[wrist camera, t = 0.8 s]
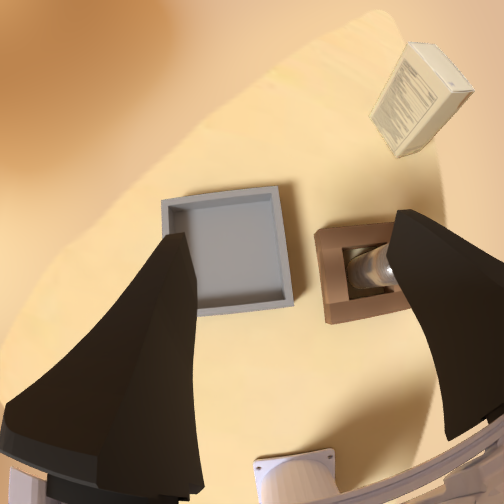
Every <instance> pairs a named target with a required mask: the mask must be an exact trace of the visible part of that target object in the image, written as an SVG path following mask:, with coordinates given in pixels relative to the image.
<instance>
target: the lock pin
mask: <svg viewBox="0 0 504 504" xmlns="http://www.w3.org/2000/svg"><path fill="white" fill-rule="evenodd" d="M388 246H389V243H388V244H385V245H383V246H381V247H379V248H376V249H374V250H372V251H369V252H367V253H365V254H362V255H360V256H357V257H355V258H353V259H352V260H351V261H350V262H349V263H348V265H347V268H346V276H347V279H348V281H349V283H350V284H351V285H352V286H353V287H355V288H358V289H364V288H373V287H382V286H390V285H398V283H397V281H396V279H395V277H394V274H393V272H392V270H391V267H390V265H389V262H388V260H387V257H386V253H387V250H388Z"/></svg>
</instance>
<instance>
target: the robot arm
mask: <svg viewBox="0 0 504 504" xmlns="http://www.w3.org/2000/svg"><path fill="white" fill-rule="evenodd" d="M386 257H387V260H388V262H389V265H390V267H391V270H392V272H393V274H394V277H395V279H396V281H397V283H398V285H399V286H400V288H401V290H402V292H403V294H404V295H405V297H406V299H407V301H408V303H409V304H410V306H411V308H412V310H413V312H414V314H415V316H416V318H417V319H418V321H419V323H420V325H421V327H422V330H423V332H424V334H425V336H426V339H427V342H428V345H429V348H430V351H431V354H432V357H433V360H434V364H435V368H436V371H437V375H438V379H439V385H440V390H441V395H442V401H443V411H444V423H445V434H446V437H447V440H448V441H451V440H452V439H454V438H456V437H458V436H459V435H461V434H463V433H464V432H466V431H468V430H469V429H471V428H473V427H474V426H476V425H477V424H479V423H480V422H482V421H484V420H485V419H487V421H488V424H489V425H488V426H486V427H485V428H483V429H482V430H480V431H479V432H477V433H476V434H474V435H472V436H471V437H469V438H468V439H466V440H464V441H463V442H461V443H460V444H458V445H456V446H455V447H452V448H451V449H449V450H447V451H445V452H443V453H442V454H440V455H438V456H436V457H434V458H432V459H430V460H428V461H426V462H424V463H422V464H419V465H418V466H415V467H413V468H411V469H408V470H406V471H404V472H401V473H399V474H396V475H394V476H391V477H389V478H386V479H384V480H381V481H378V482H375V483H372V484H369V485H366V486H363V487H360V488H357V489H354V490H350V491H347V492H343V493H340V492H339V489H338V487H337V485H336V483H335V451H334V449H333V448H328V449H323V450H318V451H313V452H308V453H302V454H296V455H290V456H283V457H275V458H267V459H257V460H255V461H254V462H253V468H254V475H255V481H256V487H257V493H258V498H259V504H383V503H385V502H388V501H391V500H393V499H395V498H398V497H400V496H403V495H405V494H407V493H409V492H411V491H414V490H416V489H418V488H420V487H422V486H424V485H426V484H428V483H430V482H432V481H434V480H436V479H438V478H440V477H441V476H443V475H445V474H447V473H449V472H450V471H452V470H454V469H455V468H456V469H455V470H454V471H452V472H451V473H450V474H449V475H447V476H446V477H445V478H444V485H442V486H440V487H438V488H435V489H433V490H431V491H429V492H427V493H425V494H423V495H420V496H418V497H416V498H413V499H411V500H408V501H406V502H403V503H401V504H504V263H503V262H502V261H500V260H498V259H496V258H494V257H492V256H491V255H489V254H487V253H486V252H484V251H482V250H481V249H479V248H478V247H476V246H474V245H473V244H471V243H469V242H468V241H466V240H464V239H463V238H461V237H460V236H458V235H456V234H454V233H453V232H452V231H450V230H448V229H447V228H445V227H443V226H442V225H440V224H438V223H437V222H435V221H433V220H432V219H430V218H428V217H426V216H424V215H422V214H420V213H418V212H416V211H413V210H411V209H409V210H397V214H396V218H395V222H394V226H393V231H392V235H391V238H390V242H389V246H388V250H387V253H386ZM197 309H198V297H197V278H196V274H195V270H194V267H193V263H192V259H191V255H190V251H189V247H188V243H187V239H186V235H185V232H182V233H174V234H167V235H165V237H164V238H163V239H162V241H161V242H160V243H159V245H158V246H157V247H156V249H155V250H154V252H153V253H152V254H151V256H150V257H149V259H148V260H147V261H146V263H145V264H144V265H143V267H142V268H141V270H140V271H139V272H138V274H137V275H136V276H135V278H134V279H133V281H132V282H131V283H130V284H129V286H128V287H127V288H126V289H125V291H124V292H123V293H122V295H121V296H120V297H119V298H118V300H117V301H116V302H115V304H114V305H113V306H112V307H111V308H110V309H109V311H108V312H107V313H106V314H105V315H104V316H103V318H102V319H101V320H100V321H99V322H98V323H97V324H96V325H95V326H94V328H93V329H92V330H91V331H90V332H89V333H88V334H87V335H86V336H85V337H84V338H83V339H82V340H81V341H80V342H79V343H78V344H77V345H76V346H75V347H74V348H73V349H72V350H71V351H70V352H69V353H68V354H67V355H66V356H65V357H64V358H63V359H61V360H60V361H59V362H58V363H57V364H56V365H55V366H54V367H53V368H51V369H50V370H49V371H48V372H47V373H46V374H44V375H43V376H42V377H41V378H40V379H38V380H37V381H36V382H35V383H33V384H32V385H31V386H29V387H28V388H27V389H25V390H24V391H23V392H21V393H20V394H19V395H18V396H16V397H15V398H14V399H12V400H11V401H9V402H8V403H6V406H5V411H4V415H3V420H2V426H1V431H0V453H2V454H4V455H6V456H8V457H11V458H13V459H15V460H17V461H19V462H21V463H24V464H26V465H28V466H30V467H33V468H35V469H38V470H40V471H43V472H45V473H48V474H47V480H45V479H43V478H40V477H38V476H35V475H33V474H30V473H28V472H26V471H23V470H21V469H19V468H16V467H14V466H11V467H10V478H9V501H8V504H179V502H178V501H190V494H198V493H199V492H200V491H201V490H202V489H203V488H204V487H205V485H204V480H203V474H202V469H201V463H200V456H199V449H198V441H197V433H196V423H195V411H194V397H193V357H194V344H195V332H196V321H197ZM483 450H485V453H484V454H483V455H482V456H479V457H477V458H475V459H473V460H472V461H470V462H467V461H468V460H470V459H471V458H473V457H474V456H476V455H477V454H479V453H480V452H482V451H483ZM330 455H332V456H331V457H328V456H330ZM465 462H467V463H465ZM464 463H465V464H464ZM462 464H463V465H462ZM460 465H462V466H460ZM459 466H460V467H459ZM257 467H261V468H257ZM457 467H458V468H457Z"/></svg>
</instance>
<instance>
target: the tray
mask: <svg viewBox="0 0 504 504" xmlns="http://www.w3.org/2000/svg"><path fill="white" fill-rule="evenodd" d="M161 211H162V238H164V237H165V235H167V234H174V233H182V232H185V235H186V239H187V243H188V247H189V251H190V255H191V259H192V263H193V267H194V270H195V274H196V278H197V297H198V309H197V317H201V316H212V315H223V314H233V313H242V312H251V311H260V310H268V309H276V308H284V307H292V306H294V301H293V292H292V284H291V276H290V268H289V261H288V253H287V246H286V239H285V231H284V224H283V218H282V211H281V204H280V198H279V191H278V186H269V187H258V188H249V189H240V190H231V191H223V192H215V193H207V194H199V195H192V196H185V197H178V198H172V199H165V200H161Z"/></svg>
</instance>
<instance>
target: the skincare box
mask: <svg viewBox="0 0 504 504" xmlns="http://www.w3.org/2000/svg"><path fill="white" fill-rule="evenodd" d="M474 92H475V90H474V89H473V87H472V86H471V85H470V83H469V82H468V80H467V79H466V78H465V77H464V76H463V74H462V73H461V72H460V71H459V70H458V68H457V67H456V66H455V65H454V64H453V63H452V61H450V59H449V58H448V57H447V56H446V55H445V54H444V53H443V52H442V51H441V50H440V49H439V48H438V47H437V46H436V45H435V44H428V43H418V42H408V43H407V45H406V47H405V49H404V51H403V53H402V55H401V57H400V58H399V60H398V62H397V64H396V66H395V68H394V70H393V72H392V74H391V76H390V78H389V79H388V81H387V83H386V85H385V87H384V89H383V91H382V93H381V94H380V96H379V98H378V100H377V102H376V104H375V106H374V107H373V109H372V111H371V113H370V115H369V117H370V119H371V120H372V122H373V123H374V125H375V127H376V128H377V130H378V131H379V133H380V134H381V136H382V137H383V139H384V140H385V142H386V143H387V145H388V147H389V148H390V150H391V151H392V153H393V154H394V156H395V157H396V158H399V157H403V156H406V155H410V154H413V153H416V152H418V151H420V150H421V149H422V148H423V147H424V146H425V145H426V144H427V143H428V142H429V141H430V140H431V139H432V138H433V137H434V136H435V135H436V134H437V132H438V131H439V130H440V129H441V128H442V127H443V126H444V125H445V124H446V123H447V122H448V121H449V120H450V119H451V117H452V116H453V115H454V114H455V113H456V112H457V111H458V110H459V108H460V107H461V106H462V105H463V104H464V103H465V102H466V101H467V100H468V98H469V97H470V96H471V95H472V94H473V93H474Z"/></svg>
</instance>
